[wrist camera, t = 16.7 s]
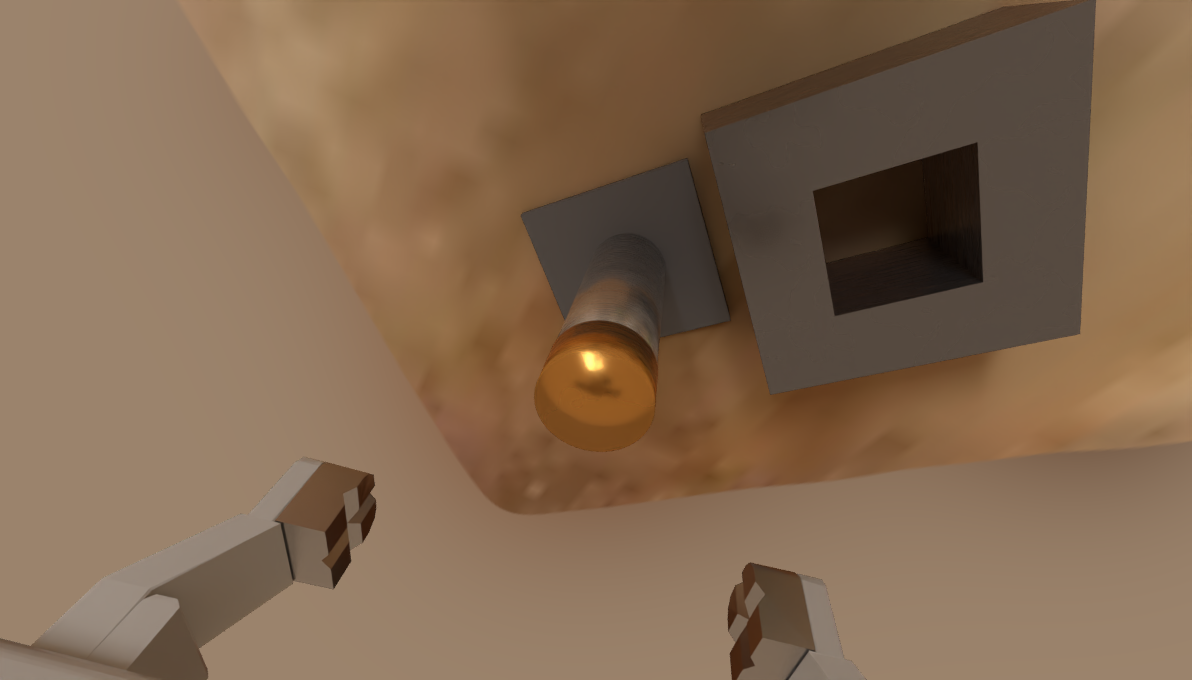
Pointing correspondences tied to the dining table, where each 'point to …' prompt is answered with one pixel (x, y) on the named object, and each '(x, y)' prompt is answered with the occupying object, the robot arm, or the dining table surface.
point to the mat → (645, 208)
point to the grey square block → (952, 193)
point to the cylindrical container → (607, 350)
